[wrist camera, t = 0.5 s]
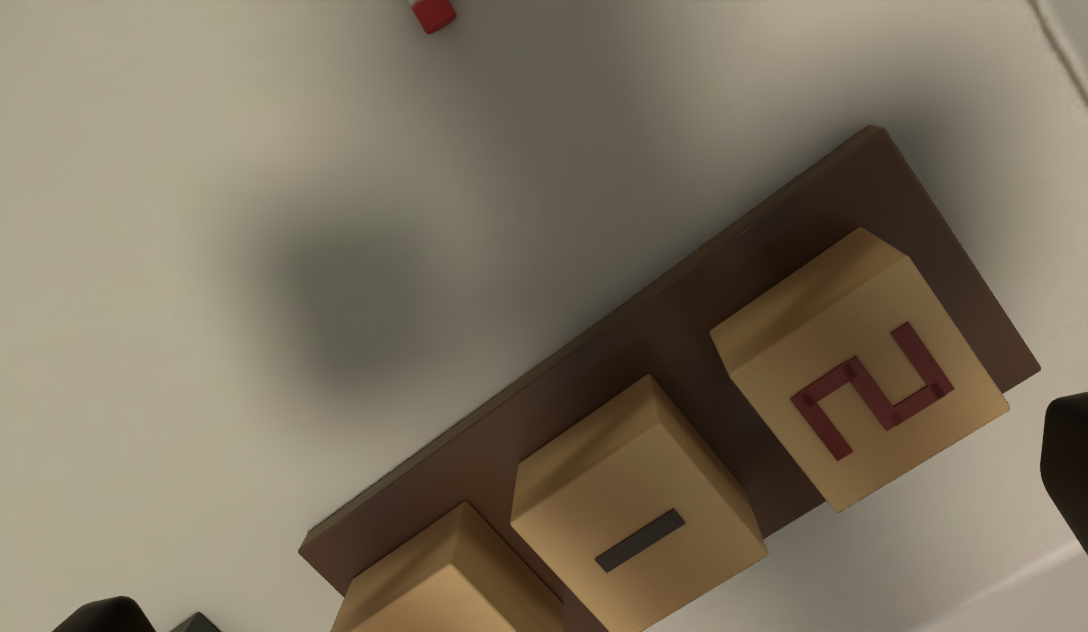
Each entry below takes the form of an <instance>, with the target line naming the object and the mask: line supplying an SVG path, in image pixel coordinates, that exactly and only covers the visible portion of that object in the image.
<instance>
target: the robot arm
mask: <svg viewBox="0 0 1088 632" xmlns="http://www.w3.org/2000/svg"><path fill="white" fill-rule="evenodd" d="M1040 471H1041V477H1042V481H1043V484H1044V486H1045V488H1046V491H1047V492H1048V494H1049V496H1050V497H1051V499H1052V501H1053V502H1054V504H1055V505H1056V507H1057V508H1058V510H1059V511H1060V513H1061V515H1062V516H1063V518H1064V519H1065V521H1066V522H1067V524H1068V525H1069V527H1070V529H1071V530H1072V532H1073V533H1074V535H1075V536H1076V538H1077V539H1078V541H1079V542H1080V544H1081V546H1082V547H1083V549H1084V550H1085V552H1086V553H1087V555H1088V392H1084V393H1079V394H1075V395H1070V396H1065V397H1060V398H1057V399H1055V400H1053V401H1052V402H1051V403H1050V404H1049V406H1048V407H1047V410H1046V415H1045V424H1044V433H1043V443H1042V452H1041V461H1040ZM52 632H156V631H155V629H154V628H153V626H152V625H151V623H150V622H149V620H148V619H147V617H146V616H145V614H144V613H143V611H142V610H141V608H140V607H139V605H138V604H137V603H136V602H135V601H134V600H133V599H131V598H129V597H126V596H118V597H113V598H108V599H104V600H99V601H94V602H91V603H88V604H85V605H83V606H81V607H80V608H79V609H77V610H76V611H75V612H74V613H73V614H72V615H70V616H69V617H68V618H67V619H66V620H65V621H63V622H62V623H61V624H60V625H59V626H58V627H57V628H55V629H54V630H53V631H52Z"/></svg>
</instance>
